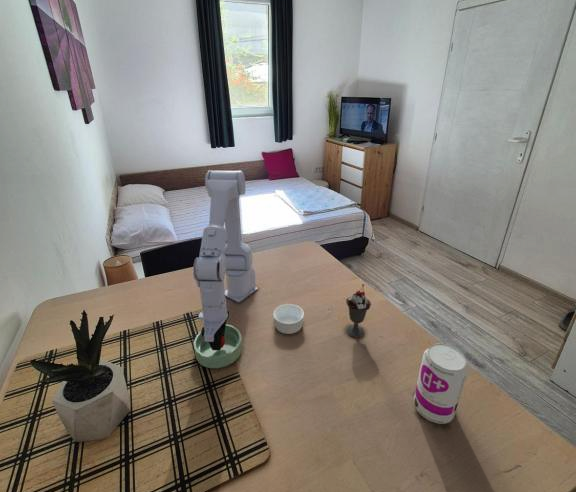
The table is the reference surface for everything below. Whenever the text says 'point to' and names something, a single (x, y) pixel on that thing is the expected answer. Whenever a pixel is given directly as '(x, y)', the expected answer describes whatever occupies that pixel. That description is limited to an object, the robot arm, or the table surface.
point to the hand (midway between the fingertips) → (218, 343)
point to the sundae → (357, 312)
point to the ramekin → (288, 318)
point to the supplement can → (440, 383)
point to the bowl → (221, 356)
